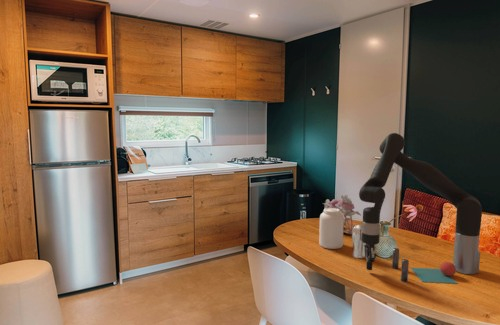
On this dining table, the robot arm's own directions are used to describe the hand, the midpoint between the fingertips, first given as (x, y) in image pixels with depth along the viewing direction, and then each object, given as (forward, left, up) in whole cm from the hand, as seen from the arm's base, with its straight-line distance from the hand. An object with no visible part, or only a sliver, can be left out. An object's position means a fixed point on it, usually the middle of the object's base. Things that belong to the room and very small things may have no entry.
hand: (369, 269), depth 157 cm
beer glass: (+1, -19, -2) cm, 19 cm away
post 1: (-13, -6, -2) cm, 15 cm away
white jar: (+13, -33, -2) cm, 36 cm away
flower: (+4, -60, -2) cm, 60 cm away
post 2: (-13, +6, -2) cm, 15 cm away
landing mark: (-27, 0, -2) cm, 27 cm away
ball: (-33, -1, +2) cm, 33 cm away
